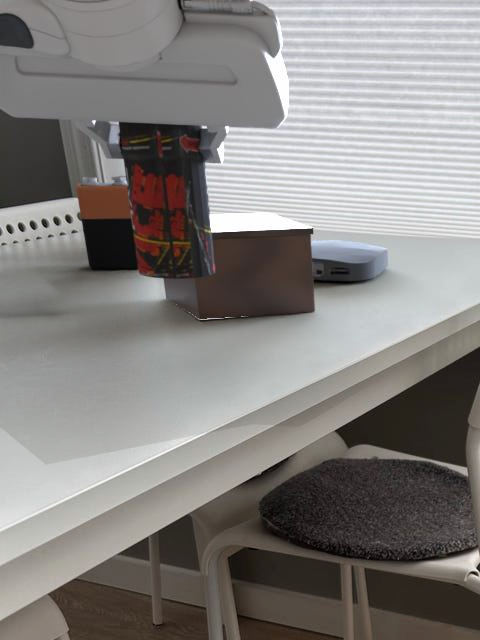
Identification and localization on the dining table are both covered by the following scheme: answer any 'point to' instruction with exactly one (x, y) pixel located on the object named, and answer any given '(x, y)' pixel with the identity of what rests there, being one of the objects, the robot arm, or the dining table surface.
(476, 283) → the dining table surface
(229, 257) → the walnut box
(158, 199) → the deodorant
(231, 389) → the dining table surface
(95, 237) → the battery
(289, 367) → the dining table surface
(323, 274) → the media streaming box
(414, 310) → the dining table surface
